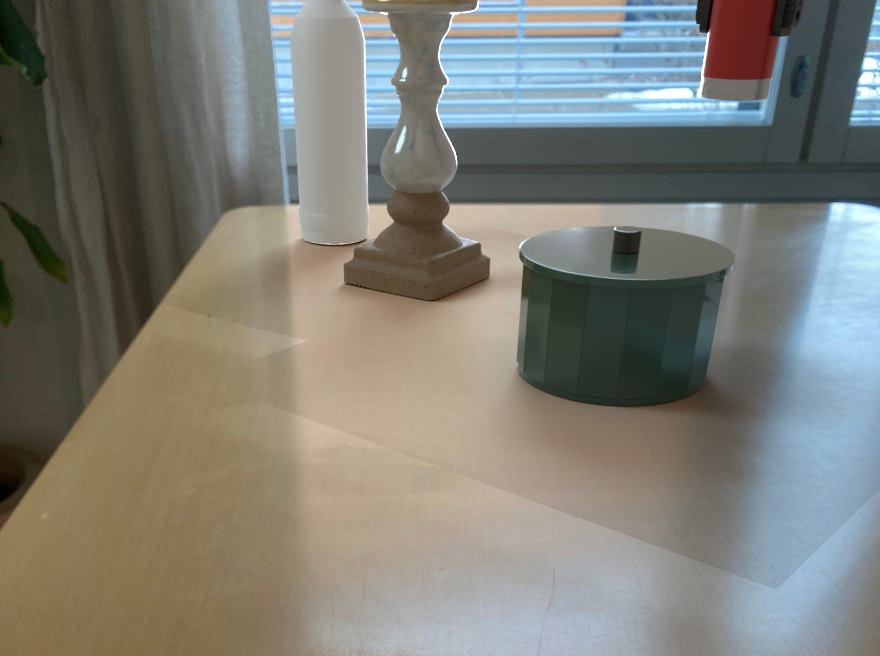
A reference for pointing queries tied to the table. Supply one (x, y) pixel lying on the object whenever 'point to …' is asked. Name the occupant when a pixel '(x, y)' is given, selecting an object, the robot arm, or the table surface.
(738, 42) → the can
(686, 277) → the pot lid
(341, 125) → the bottle
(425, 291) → the candle holder
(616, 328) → the pot
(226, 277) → the table surface
